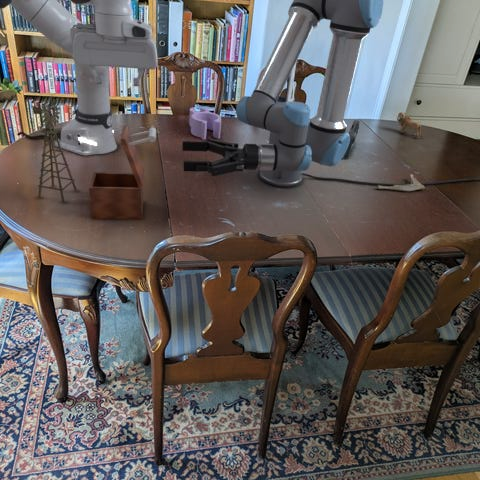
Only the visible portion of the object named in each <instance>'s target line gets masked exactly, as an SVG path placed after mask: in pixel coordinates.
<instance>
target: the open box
mask: <svg viewBox="0 0 480 480" xmlns="http://www.w3.org/2000/svg"><path fill="white" fill-rule="evenodd" d="M88 194H89V201H90V202H89V203H90V215H91V219H102V220H103V219H105V220H106V219H111V220H113V219H115V220H116V219H117V220H120V219H121V220H142V219H143V211H144V210H143V209H144V185H143V186H141V187H138V184H137V182H136V179H135V176H134V174H133V172H108V171H107V172H104V171H103V172H102V171H93V173H92V176H91V180H90V183H89V186H88Z"/></svg>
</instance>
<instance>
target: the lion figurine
mask: <svg viewBox="0 0 480 480" xmlns="http://www.w3.org/2000/svg"><path fill="white" fill-rule="evenodd" d="M396 121H397V122H398V123H399V126H401V130H400V131H399V132H400V133H401V134H403V133H404V132H406V129H410V130H411V129H413V131H414V133H413V136H414V138H415V139H418V138H419V136H420V137H421V136H422V137H421V138H422V139H423V138H424V136H423V135H422V125H421V123H420V122H419V121H414V120H412V119H411V117H410V116H409V115H408V114H407V113H406V112H403V111H402V112H398V114H397V117H396ZM416 136H418V137H416Z"/></svg>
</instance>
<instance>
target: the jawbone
mask: <svg viewBox="0 0 480 480" xmlns="http://www.w3.org/2000/svg"><path fill="white" fill-rule="evenodd" d="M409 179H410V183H408V184H409V185H394V186H384V185H376V188H377V189H380V190H391V191H400V192H409V193H410V192H415V191H419V190H425V189H426V187H425V185H422V184H421V183H422V182H419V181H418V179H417V177H415V176H414V174H413V173H410V174H409ZM410 184H411V185H410Z"/></svg>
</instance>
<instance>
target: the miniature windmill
mask: <svg viewBox="0 0 480 480" xmlns="http://www.w3.org/2000/svg"><path fill="white" fill-rule="evenodd" d="M55 98H56V97H55V96H53V95H51V96H50V95H48V98H47V97H45V101H43V104H44V105H41V106H42V107H38V106H35V105H31V107H32V114H33V115H41V119H42V121H41V122H42V124H43V126H44V128H43V129H41V130H39V133H43V134H44V135H45V137H44V138H42V140H43V146H42V148H43V150H42V154H41V157H42V158H41V162H40V164H41V166H40V175H39V177H38V179H39V184H38V185H37V187H38V196H37V197H38V198H41V197H42V188H44V189H49V190H55V191H59V193H60V198H61V202H62V203H63V202H65V197H64V192H63V191H64V190H65V189H66V188H67V187H68V186H70V185H72V187H73V190H74V191H75V192H77V191H78V189H77V186H76V183H75V181H76V180H75V179H74V178H73V176H72V175H73V174H72V173H71V169H70V167H69V166H70V164H69V163H68V161H67V159H66V156H65V154H64V150H63V149H62V148H61V146H60V143H59V140H58V139H59V138H57V135H56V133H58V132H59V131H61V130H62V129H61V127H59V128H58V127H57V128H56V126H57V124H58V123H59V121H58V120H60V116H59V115H60V113H61V111H58V110H60V106H59V102H57V101H58V99H57V98H56V99H55ZM58 106H59V107H58ZM52 134H54V136H53V137H52ZM47 136H48V137H47ZM47 138H49V139H47ZM52 138H53V139H52ZM56 141H57V143H58V146H59V147H58V149H56V148H55V142H56ZM47 146H49V150H46V149H47ZM56 152H58V154H56ZM59 156H61V157H62V159H63V162H58V160H57V158H58V157H59ZM46 157H47V158H46ZM53 159H54V161H53ZM48 160H50V161H49V162H50V163H48V164H47V165H45V162H47V161H48ZM54 164H55V170H54ZM59 165H60V166H61V165H62V166H64V167H62V168H61V169H60V170H59ZM49 166H50V169H46V168H48V167H49ZM64 170H67V172H68V176H69V178H68V177H63V176H60V173H61V172H62V171H64ZM48 173H50V176H49V177H47V178H46V179H45V180H44V181H43V177H44V176H46V175H47V174H48ZM54 173H55V174H56V175H54ZM55 178H56V179H57V181H58V182H57V183H58V187H59V188H57V187H55ZM50 179H51V186H46V185H45V186H44V184H45V183H46V182H47V181H48V180H49V181H50ZM61 179H62V180H67V181H70V182H69V183H67V184H66V185H65V186H63V185H62V182H61ZM62 186H63V187H62Z"/></svg>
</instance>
